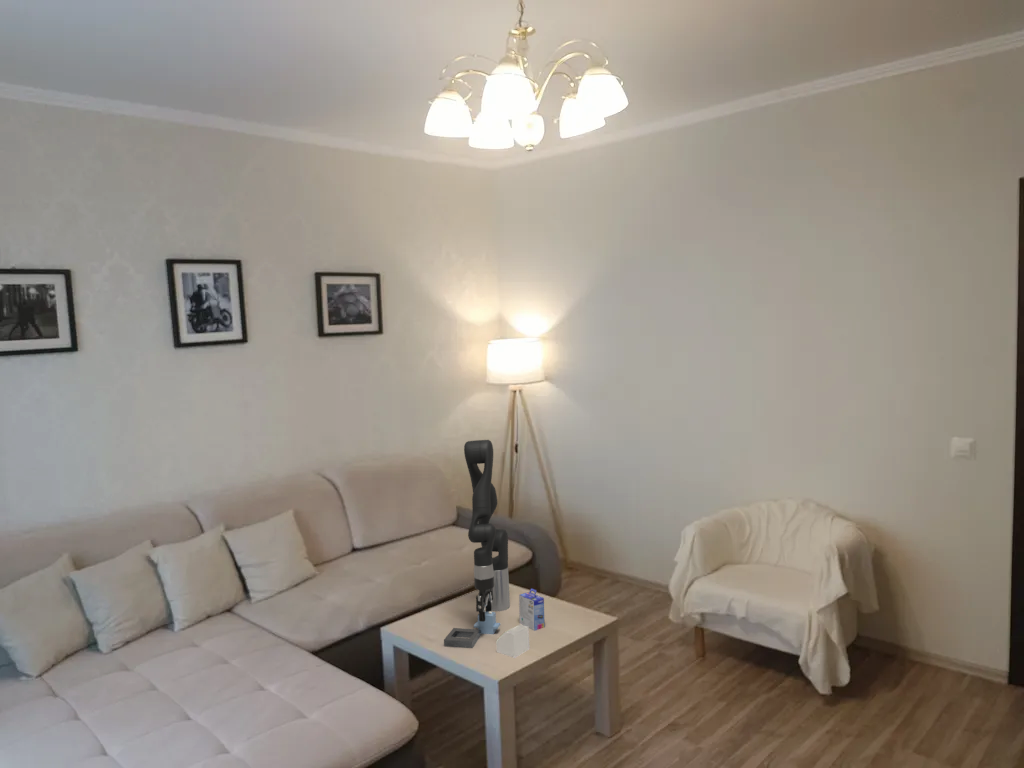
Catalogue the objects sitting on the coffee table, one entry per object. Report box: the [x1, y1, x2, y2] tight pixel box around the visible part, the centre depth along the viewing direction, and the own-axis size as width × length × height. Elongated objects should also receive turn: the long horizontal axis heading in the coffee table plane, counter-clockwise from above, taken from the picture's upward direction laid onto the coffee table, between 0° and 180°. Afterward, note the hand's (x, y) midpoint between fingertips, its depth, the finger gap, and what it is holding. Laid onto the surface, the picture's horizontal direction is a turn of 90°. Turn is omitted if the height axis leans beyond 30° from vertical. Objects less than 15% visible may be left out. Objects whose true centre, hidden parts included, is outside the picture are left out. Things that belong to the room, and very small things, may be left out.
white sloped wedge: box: [495, 623, 531, 659], centre depth 259 cm, size 8×15×8 cm, turn 140°
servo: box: [473, 611, 501, 635], centre depth 274 cm, size 4×10×8 cm, turn 75°
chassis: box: [443, 627, 482, 649], centre depth 267 cm, size 11×11×2 cm
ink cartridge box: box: [518, 587, 546, 632], centre depth 278 cm, size 10×6×14 cm, turn 37°
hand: (485, 617), depth 274 cm, fingers open, 8 cm apart
